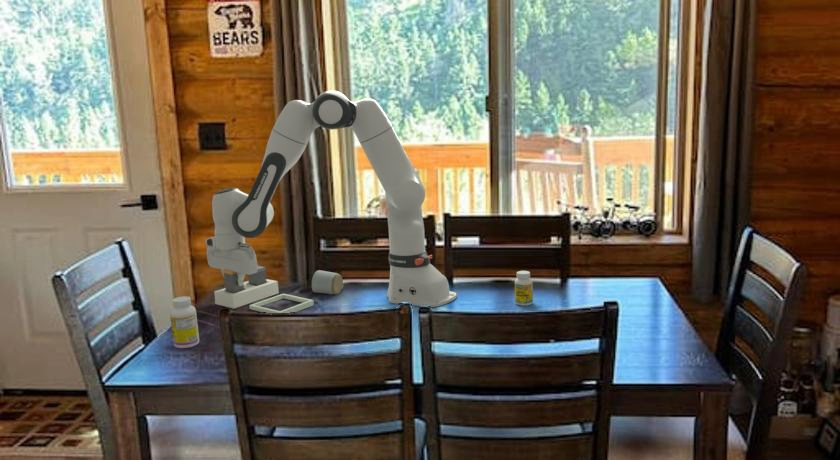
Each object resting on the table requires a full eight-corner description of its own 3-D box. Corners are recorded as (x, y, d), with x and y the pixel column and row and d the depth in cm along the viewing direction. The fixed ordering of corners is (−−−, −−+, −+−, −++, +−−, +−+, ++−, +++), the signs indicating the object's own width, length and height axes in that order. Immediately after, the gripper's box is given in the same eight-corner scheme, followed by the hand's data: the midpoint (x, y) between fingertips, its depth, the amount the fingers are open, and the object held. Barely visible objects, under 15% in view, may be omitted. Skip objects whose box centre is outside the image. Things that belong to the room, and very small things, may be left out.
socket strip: (279, 296, 234) (277, 281, 233) (234, 311, 220) (232, 295, 219) (260, 292, 239) (259, 277, 238) (215, 306, 226) (214, 291, 224)
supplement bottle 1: (177, 341, 197) (171, 295, 194) (201, 339, 197) (196, 294, 195) (171, 350, 190) (165, 303, 188) (196, 348, 191) (191, 301, 188)
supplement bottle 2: (534, 301, 218) (533, 270, 216) (531, 306, 213) (531, 275, 211) (516, 300, 220) (516, 269, 218) (513, 305, 215) (512, 274, 213)
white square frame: (314, 306, 221) (313, 300, 221) (280, 319, 211) (279, 312, 210) (283, 300, 230) (283, 293, 229) (250, 312, 219) (249, 305, 219)
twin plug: (267, 294, 233) (265, 267, 232) (257, 297, 230) (255, 270, 228) (259, 292, 236) (257, 265, 234) (249, 295, 233) (247, 268, 231)
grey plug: (244, 296, 226) (242, 268, 224) (234, 299, 223) (231, 271, 221) (236, 294, 228) (233, 266, 227) (226, 297, 225) (223, 269, 223)
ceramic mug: (334, 298, 229) (332, 274, 228) (311, 296, 232) (310, 273, 231) (349, 289, 239) (348, 266, 237) (327, 287, 242) (326, 265, 240)
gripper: (260, 242, 218) (264, 286, 221) (218, 235, 230) (222, 277, 233) (244, 246, 213) (248, 291, 216) (201, 239, 226) (206, 282, 228)
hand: (234, 284), depth 225 cm, fingers closed on grey plug, 4 cm apart
